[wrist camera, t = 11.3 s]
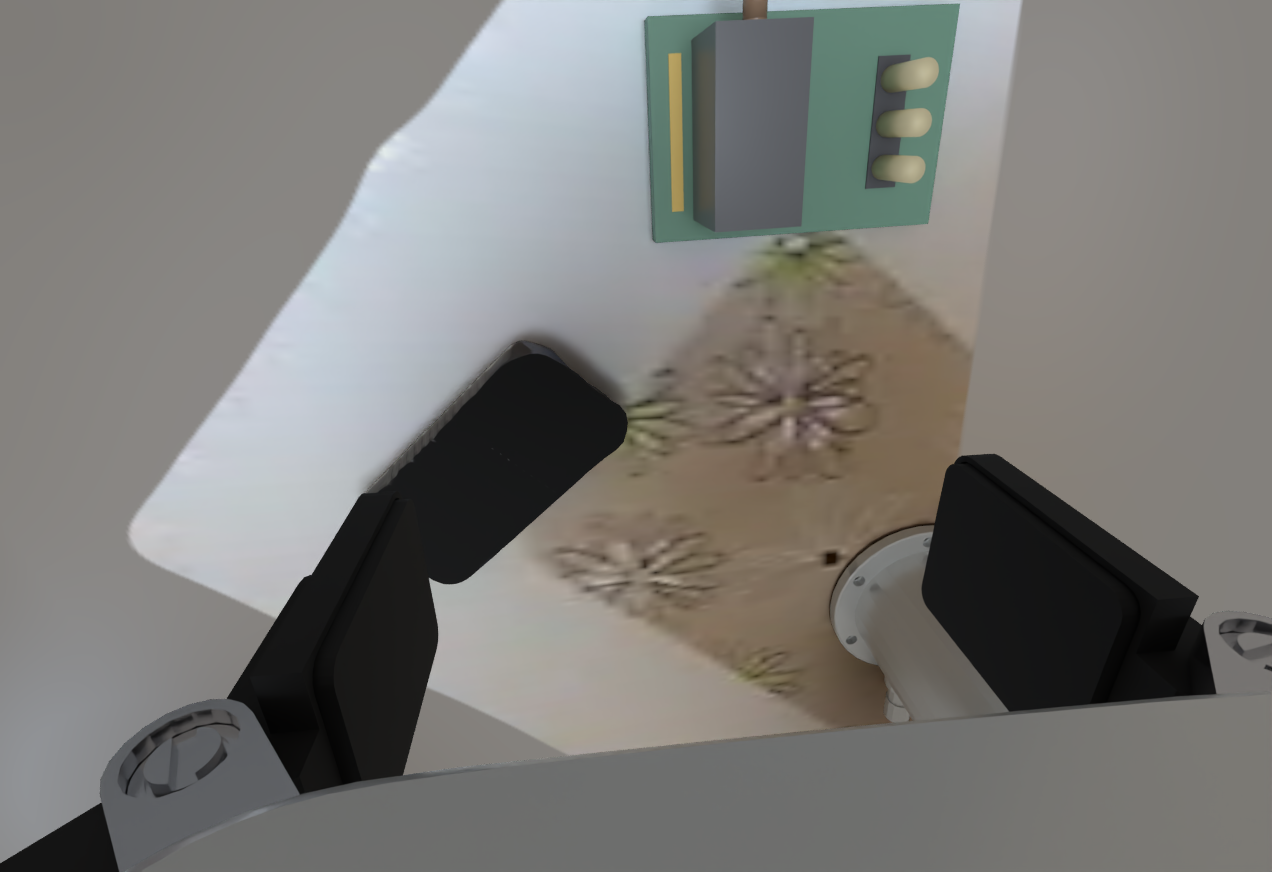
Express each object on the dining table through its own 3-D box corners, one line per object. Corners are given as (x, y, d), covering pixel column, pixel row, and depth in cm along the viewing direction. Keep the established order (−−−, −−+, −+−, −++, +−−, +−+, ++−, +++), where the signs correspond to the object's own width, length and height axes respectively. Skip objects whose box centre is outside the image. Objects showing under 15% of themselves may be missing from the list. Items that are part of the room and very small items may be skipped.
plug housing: (768, 214, 33) (801, 226, 28) (693, 219, 32) (714, 232, 28) (777, -24, 28) (818, -55, 24) (690, -21, 28) (715, -52, 24)
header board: (916, 221, 35) (962, 231, 31) (652, 239, 34) (665, 252, 30) (945, 8, 31) (1003, -12, 27) (644, 21, 30) (657, 2, 26)
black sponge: (533, 315, 35) (530, 333, 32) (634, 411, 38) (641, 437, 35) (351, 495, 39) (332, 528, 35) (458, 570, 42) (449, 606, 39)
